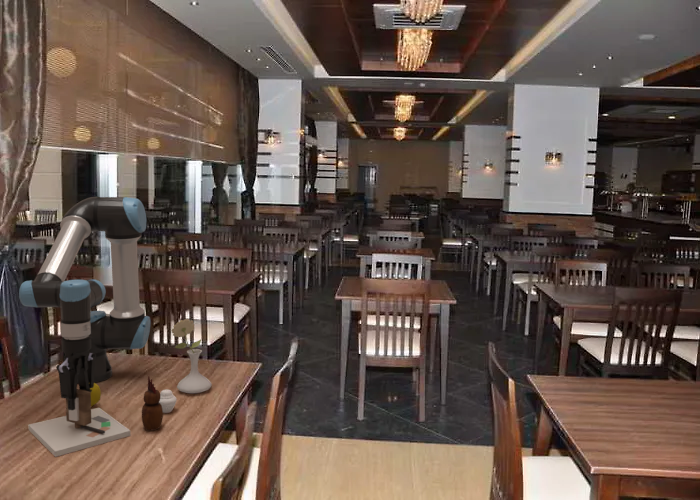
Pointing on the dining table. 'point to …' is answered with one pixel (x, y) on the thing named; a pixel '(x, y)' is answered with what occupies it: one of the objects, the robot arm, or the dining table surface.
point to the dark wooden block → (83, 411)
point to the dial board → (77, 433)
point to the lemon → (95, 394)
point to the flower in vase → (194, 379)
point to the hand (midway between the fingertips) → (78, 417)
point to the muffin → (167, 400)
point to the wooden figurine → (152, 408)
